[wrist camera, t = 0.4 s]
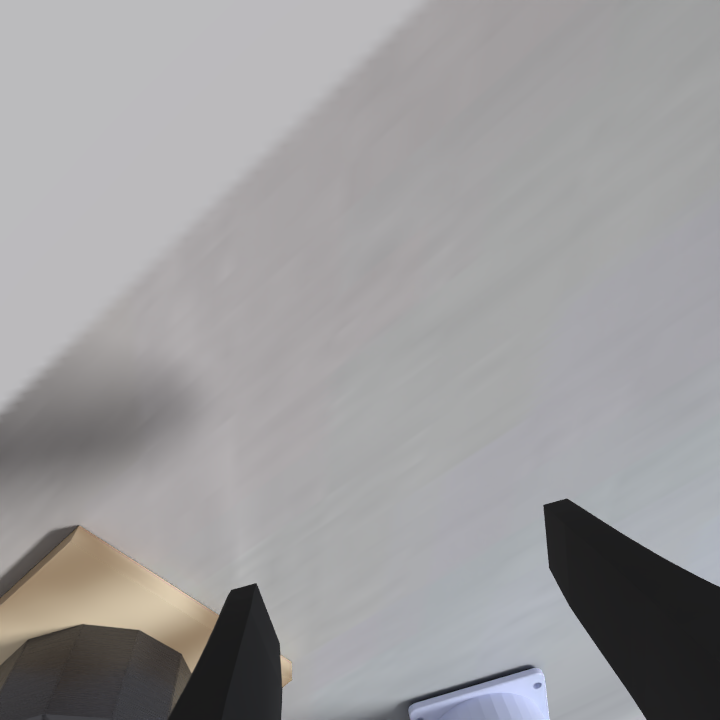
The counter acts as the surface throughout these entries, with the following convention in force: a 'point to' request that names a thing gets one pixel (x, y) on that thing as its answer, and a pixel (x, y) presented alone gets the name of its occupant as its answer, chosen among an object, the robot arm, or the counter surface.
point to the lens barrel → (92, 676)
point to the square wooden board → (104, 600)
